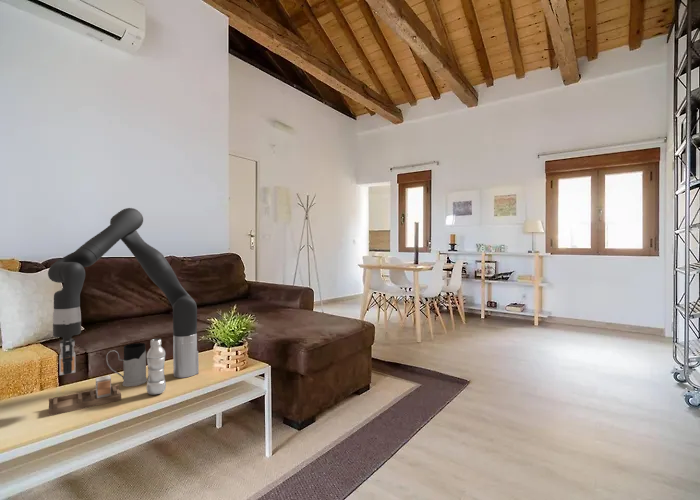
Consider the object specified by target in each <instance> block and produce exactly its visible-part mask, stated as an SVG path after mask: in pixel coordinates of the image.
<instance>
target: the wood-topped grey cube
mask: <svg viewBox="0 0 700 500" xmlns="http://www.w3.org/2000/svg"><path fill="white" fill-rule="evenodd" d="M58 358H59V359H58V360H59V376H63V375H65V374H63V362H62V360H63V356H61V353H60V354H59V357H58ZM65 358H70V355H68V356H65ZM72 358H73V361H72V372H71V373H69V374H75V373H76V352H75V351H74V354H73V355H72ZM69 374H68V375H69Z"/></svg>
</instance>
